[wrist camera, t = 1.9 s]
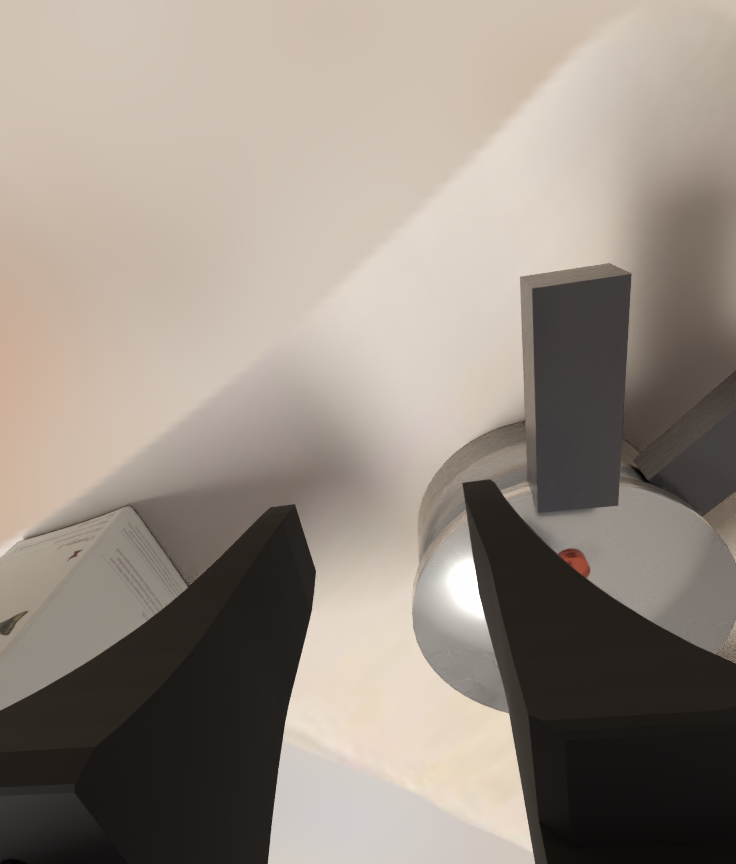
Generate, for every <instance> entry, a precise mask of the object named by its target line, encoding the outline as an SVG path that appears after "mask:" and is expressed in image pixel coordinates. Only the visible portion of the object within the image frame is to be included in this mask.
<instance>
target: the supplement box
mask: <svg viewBox="0 0 736 864" xmlns="http://www.w3.org/2000/svg"><path fill="white" fill-rule="evenodd" d="M187 588H188V586H187V585H186V583H185V582H184V580H183V579H182V578H181V576H180V575H179V573H178V572H177V570H176V569H175V567H174V566H173V565H172V563H171V562H170V560H169V559H168V557H167V556H166V554H165V553H164V551H163V550H162V549H161V547H160V546H159V544H158V543H157V542H156V540H155V539H154V537H153V536H152V534H151V533H150V532H149V530H148V529H147V527H146V526H145V524H144V523H143V521H142V520H141V519H140V517H139V516H138V515H137V514H136V512H135V511H134V510H133V508H132V507H130V506H126V507H123V508H121V509H118V510H116V511H113V512H111V513H108V514H105V515H103V516H100V517H97V518H94V519H91V520H89V521H86V522H83V523H80V524H77V525H74V526H70V527H67V528H64V529H61V530H57V531H54V532H51V533H48V534H44V535H41V536H37V537H34V538H30V539H26V540H23V541H19V542H17V543H16V544H15V545H14V546H13V547H12V548H11V549H10V550H8V551H7V552H6V553H5V554H4V555H3V556H2V557H1V558H0V710H2V709H4V708H6V707H8V706H10V705H12V704H14V703H16V702H18V701H20V700H22V699H24V698H26V697H28V696H29V695H31V694H33V693H35V692H37V691H39V690H40V689H42V688H44V687H46V686H48V685H49V684H51V683H53V682H54V681H56V680H58V679H60V678H61V677H63V676H65V675H67V674H68V673H70V672H72V671H73V670H75V669H77V668H78V667H80V666H81V665H83V664H85V663H86V662H88V661H90V660H91V659H93V658H94V657H96V656H97V655H99V654H100V653H102V652H103V651H105V650H106V649H108V648H109V647H111V646H112V645H114V644H115V643H116V642H118V641H119V640H121V639H122V638H124V637H125V636H127V635H128V634H130V633H131V632H133V631H134V630H136V629H137V628H138V627H140V626H141V625H142V624H144V623H145V622H146V621H148V620H149V619H150V618H151V617H153V616H154V615H155V614H157V613H158V612H159V611H160V610H162V609H163V608H164V607H166V606H167V605H168V604H169V603H170V602H172V601H173V600H174V599H175V598H176V597H178V596H179V595H180V594H181V593H182V592H183V591H185V590H186V589H187Z"/></svg>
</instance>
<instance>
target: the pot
mask: <svg viewBox="0 0 736 864" xmlns="http://www.w3.org/2000/svg"><path fill="white" fill-rule="evenodd" d="M620 476H621V477H627V478H632V479H636V480H639V481H642V482H646V483H649V484H652V485H655V486H657V487H659V488H661V489H664V490H666V491H668V492H670V493H672V494H674V495H676V496H677V497H679V498H680V499H682V500H683V501H685V502H686V503H688V504H690V505H691V506H692V507H693V508H694V509H695V510H696V511H697V512H698V513H700V514H701V515H702V516H704V515H705V514H706V513H707V512H709V511H710V510H711V509H713V508H714V507H715V506H717V505H718V504H719V503H721V502H722V501H723V500H725V499H726V498H727V497H728V496H730V495H731V494H732V493H734V492H735V491H736V371H735V372H734V373H733V374H732V375H730V376H729V377H728V378H727V379H726V380H725V381H723V382H722V383H721V384H720V385H719V386H718V387H717V388H715V389H714V390H713V391H712V392H711V393H710V394H709V395H707V396H706V397H705V398H704V399H703V400H702V401H700V402H699V403H698V404H697V405H696V406H695V407H694V408H692V409H691V410H690V411H689V412H688V413H687V414H686V415H684V416H683V417H682V418H681V419H680V420H679V421H677V422H676V423H675V424H674V425H673V426H672V427H671V428H669V429H668V430H667V431H666V432H665V433H664V434H663V435H661V436H660V437H659V438H658V439H657V440H656V441H654V442H653V443H652V444H651V445H650V446H649V447H648V448H646V449H645V450H644V451H643V452H642V453H641V454H640V453H639V452H638V451H637V450H636V449H634V448H633V447H632V446H631V445H630V444H629V443H627V442H626V441H624V440H623V439H622V448H621V465H620ZM487 479H490V480H492V481H493V482H495V483H496V485H497V487H498V488H499V490H500V491H501V490H503V489H506V488H508V487H511V486H514V485H516V484H519V483H523V482H527V456H526V428H525V422H522V423H516V424H513V425H509V426H506V427H502V428H499V429H497V430H494V431H492V432H489V433H487V434H485V435H483V436H481V437H479V438H477V439H475V440H474V441H472V442H470V443H468V444H467V445H466V446H464V447H463V448H462V449H460V450H459V451H457V452H456V453H455V454H454V455H453V456H452V457H451V458H450V459H449V460H447V461H446V462H445V463H444V465H443V466H442V467H441V468H440V469H439V471H438V472H437V473H436V474H435V476H434V477H433V479H432V481H431V482H430V484H429V486H428V488H427V490H426V492H425V495H424V497H423V499H422V503H421V507H420V511H419V521H418V537H419V565H420V563H421V561H422V558H423V556H424V554H425V552H426V551H427V549H428V548H429V546H430V545H431V543H432V542H433V540H434V539H435V538H436V537H437V536H438V535H439V533H440V532H441V531H442V530H443V529H444V528H445V527H446V526H447V525H448V524H449V523H450V522H451V521H452V520H454V519H455V518H456V517H457V516H458V515H459V514H460V513H462V512H463V511H465V510H466V506H465V498H464V491H463V484H462V483H464V482H472V481H480V480H487Z"/></svg>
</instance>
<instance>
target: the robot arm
mask: <svg viewBox="0 0 736 864" xmlns="http://www.w3.org/2000/svg"><path fill="white" fill-rule="evenodd" d="M462 484H463V491H464V498H465V506H466V513H467V520H468V527H469V534H470V541H471V548H472V555H473V561H474V567H475V574H476V580H477V586H478V593H479V597H480V601H481V605H482V608H483V612H484V616H485V620H486V623H487V627H488V631H489V634H490V638H491V642H492V646H493V649H494V653H495V657H496V660H497V664H498V668H499V672H500V675H501V679H502V683H503V687H504V691H505V695H506V700H507V704H508V709H509V715H510V720H511V726H512V732H513V738H514V743H515V749H516V755H517V760H518V766H519V772H520V778H521V784H522V789H523V795H524V801H525V807H526V812H527V818H528V824H529V830H530V836H531V842H532V847H533V853H534V859H535V864H736V664H735V663H733V662H731V661H729V660H726V659H724V658H722V657H720V656H718V655H715V654H713V653H711V652H709V651H707V650H705V649H702V648H700V647H698V646H696V645H694V644H692V643H690V642H688V641H686V640H684V639H682V638H681V637H679V636H677V635H675V634H673V633H671V632H669V631H668V630H666V629H664V628H662V627H660V626H658V625H656V624H655V623H653V622H651V621H650V620H648V619H646V618H645V617H643V616H641V615H640V614H638V613H637V612H635V611H633V610H632V609H630V608H629V607H627V606H625V605H624V604H622V603H621V602H619V601H618V600H616V599H614V598H613V597H611V596H610V595H609V594H607V593H606V592H604V591H603V590H602V589H600V588H599V587H597V586H596V585H595V584H593V583H592V582H591V581H589V580H588V579H587V578H586V577H584V576H583V575H582V574H580V573H579V572H578V571H577V570H575V569H574V568H573V567H572V566H571V565H569V564H568V563H567V562H566V561H565V560H564V559H562V558H561V557H560V556H559V555H558V554H557V553H556V552H555V551H554V550H553V549H552V548H550V547H549V546H548V545H547V544H546V543H545V542H544V541H543V540H542V539H541V538H540V537H539V536H538V535H537V534H536V533H535V532H534V531H533V530H532V529H531V527H530V526H529V525H528V524H527V523H526V522H525V521H524V520H523V519H522V518H521V517H520V515H519V514H518V513H517V512H516V511H515V510H514V508H513V507H512V506H511V505H510V503H509V502H508V501H507V500H506V498H505V497H504V496H503V494H502V493H501V491H500V490H499V488H498V487H497V485H496V483H495V482H493V481H492V480H490V479H487V480H480V481H472V482H464V483H462ZM315 575H316V570H315V567H314V564H313V561H312V557H311V554H310V551H309V548H308V545H307V542H306V538H305V535H304V532H303V529H302V526H301V523H300V519H299V516H298V513H297V510H296V507H295V504H294V505H287V506H279V507H271V508H269V509H268V510H267V511H266V512H265V513H264V514H263V515H262V516H261V517H260V518H259V519H258V520H257V521H256V522H255V523H254V524H253V525H252V526H251V527H250V528H249V529H248V530H247V531H246V532H245V533H244V534H243V535H242V536H241V537H240V538H239V539H238V540H237V541H236V542H235V543H234V544H233V545H232V546H231V547H230V548H229V549H228V550H227V551H226V552H225V553H224V554H223V555H222V556H221V557H220V558H219V559H218V560H217V561H216V562H215V563H214V564H213V565H212V566H211V567H210V568H208V569H207V570H206V571H205V572H204V573H203V574H202V575H201V576H200V577H199V578H198V579H197V580H195V581H194V582H193V583H192V584H191V585H190V586H189V587H188V588H187V589H186V590H185V591H183V592H182V593H181V594H180V595H179V596H178V597H176V598H175V599H174V600H173V601H172V602H170V603H169V604H168V605H167V606H166V607H164V608H163V609H162V610H160V611H159V612H158V613H157V614H155V615H154V616H153V617H151V618H150V619H149V620H148V621H146V622H145V623H144V624H142V625H141V626H140V627H138V628H137V629H136V630H134V631H133V632H131V633H130V634H128V635H127V636H125V637H124V638H122V639H121V640H119V641H118V642H116V643H115V644H114V645H112V646H111V647H109V648H108V649H106V650H105V651H103V652H102V653H100V654H99V655H97V656H96V657H94V658H93V659H91V660H90V661H88V662H86V663H85V664H83V665H81V666H80V667H78V668H77V669H75V670H73V671H72V672H70V673H68V674H67V675H65V676H63V677H61V678H60V679H58V680H56V681H54V682H53V683H51V684H49V685H48V686H46V687H44V688H42V689H40V690H39V691H37V692H35V693H33V694H31V695H29V696H28V697H26V698H24V699H22V700H20V701H18V702H16V703H14V704H12V705H10V706H8V707H6V708H4V709H2V710H0V864H268V855H269V845H270V834H271V825H272V816H273V808H274V799H275V792H276V784H277V775H278V768H279V761H280V754H281V747H282V740H283V733H284V726H285V720H286V715H287V710H288V705H289V701H290V697H291V693H292V689H293V685H294V681H295V677H296V673H297V669H298V665H299V661H300V657H301V653H302V649H303V645H304V641H305V637H306V632H307V628H308V624H309V620H310V616H311V611H312V604H313V596H314V586H315Z"/></svg>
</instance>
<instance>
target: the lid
mask: <svg viewBox="0 0 736 864" xmlns="http://www.w3.org/2000/svg"><path fill="white" fill-rule="evenodd" d="M520 286H521V314H522V342H523V371H524V399H525V428H526V456H527V482H523V483H519V484H516V485H514V486H511V487H508V488H506V489H503V490H501V493H502V494H503V496H504V497H505V498H506V500H507V501H508V502H509V503H510V505H511V506H512V507H513V508H514V510H515V511H516V512H517V513H518V514H519V515H520V517H521V518H522V519H523V520H524V521H525V522H526V523H527V524H528V525H529V526H530V527H531V529H532V530H533V531H534V532H535V533H536V534H537V535H538V536H539V537H540V538H541V539H542V540H543V541H544V542H545V543H546V544H547V545H548V546H549V547H550V548H552V549H553V550H554V551H555V552H556V553H557V554H558V555H559V556H560V557H561V558H562V559H564V560H565V561H566V562H567V563H568V564H569V565H571V566H572V567H573V568H574V569H575V570H577V571H578V572H579V573H580V574H582V575H583V576H584V577H586V578H587V579H588V580H589V581H591V582H592V583H593V584H595V585H596V586H597V587H599V588H600V589H602V590H603V591H604V592H606V593H607V594H609V595H610V596H611V597H613V598H614V599H616V600H618V601H619V602H621V603H622V604H624V605H625V606H627V607H629V608H630V609H632V610H633V611H635V612H637V613H638V614H640V615H641V616H643V617H645V618H646V619H648V620H650V621H651V622H653V623H655V624H656V625H658V626H660V627H662V628H664V629H666V630H668V631H669V632H671V633H673V634H675V635H677V636H679V637H681V638H682V639H684V640H686V641H688V642H690V643H692V644H694V645H696V646H698V647H700V648H702V649H705V650H707V651H709V652H711V653H713V654H715V655H716V653H717V652H718V651H719V649H720V648H721V647H722V645H723V644H724V642H725V641H726V639H727V638H728V636H729V633H730V631H731V629H732V627H733V625H734V623H735V620H736V563H735V560H734V558H733V556H732V555H731V553H730V551H729V549H728V547H727V545H726V544H725V543H724V541H723V540H722V539H721V538H720V536H719V535H718V534H717V533H716V531H715V530H714V529H713V528H712V527H711V525H710V524H709V523H708V522H707V521H706V519H705V518H704V517H703V516H702V515H701V514H700V513H698V512H697V511H696V510H695V509H694V508H693V507H692V506H691V505H690V504H688V503H686V502H685V501H683V500H682V499H680V498H679V497H677V496H676V495H674V494H672V493H670V492H668V491H666V490H664V489H661V488H659V487H657V486H655V485H652V484H649V483H646V482H642V481H639V480H636V479H632V478H627V477H621V476H620V465H621V448H622V430H623V413H624V395H625V377H626V360H627V342H628V325H629V307H630V289H631V273H629V272H627V271H624V270H622V269H620V268H618V267H616V266H614V265H612V264H610V263H608V264H602V265H595V266H589V267H582V268H576V269H569V270H562V271H556V272H549V273H543V274H536V275H529V276H523V277H520ZM412 615H413V628H414V632H415V636H416V639H417V643H418V645H419V647H420V649H421V651H422V654H423V656H424V657H425V659H426V660H427V661H428V663H429V664H430V666H431V667H432V668H433V670H434V671H435V672H436V673H437V674H438V675H439V676H440V677H441V678H442V679H443V680H444V681H445V682H447V683H448V684H449V685H450V686H451V687H452V688H454V689H455V690H457V691H458V692H460V693H462V694H463V695H465V696H466V697H468V698H470V699H472V700H474V701H476V702H478V703H480V704H482V705H485V706H488V707H491V708H493V709H496V710H499V711H503V712H506V713H509V709H508V704H507V700H506V695H505V691H504V687H503V683H502V679H501V675H500V672H499V668H498V664H497V660H496V657H495V653H494V649H493V646H492V642H491V638H490V634H489V631H488V627H487V623H486V620H485V616H484V612H483V608H482V605H481V601H480V597H479V593H478V586H477V580H476V574H475V567H474V561H473V555H472V548H471V541H470V534H469V527H468V520H467V513H466V510H465V511H463V512H462V513H460V514H459V515H458V516H457V517H456V518H455V519H454V520H452V521H451V522H450V523H449V524H448V525H447V526H446V527H445V528H444V529H443V530H442V531H441V532H440V533H439V535H438V536H437V537H436V538H435V539H434V540H433V542H432V543H431V545H430V546H429V548H428V549H427V551H426V552H425V554H424V556H423V558H422V561H421V563H420V565H419V567H418V570H417V573H416V577H415V581H414V585H413V596H412Z"/></svg>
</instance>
